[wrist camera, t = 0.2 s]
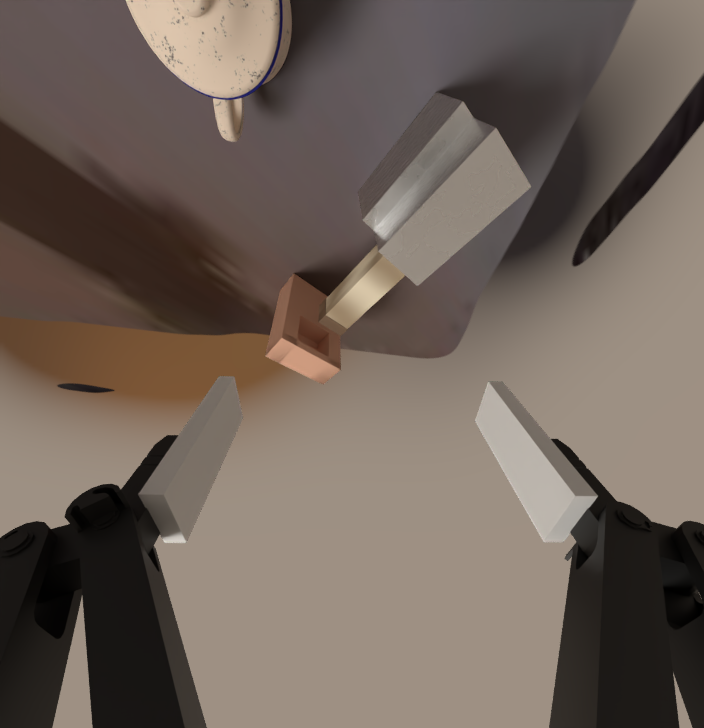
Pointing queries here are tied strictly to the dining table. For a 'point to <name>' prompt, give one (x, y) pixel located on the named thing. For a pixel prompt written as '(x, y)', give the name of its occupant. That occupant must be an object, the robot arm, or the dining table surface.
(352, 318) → the bar
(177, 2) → the teacup with lid
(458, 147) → the sleeve
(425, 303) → the dining table surface
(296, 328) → the socket block
